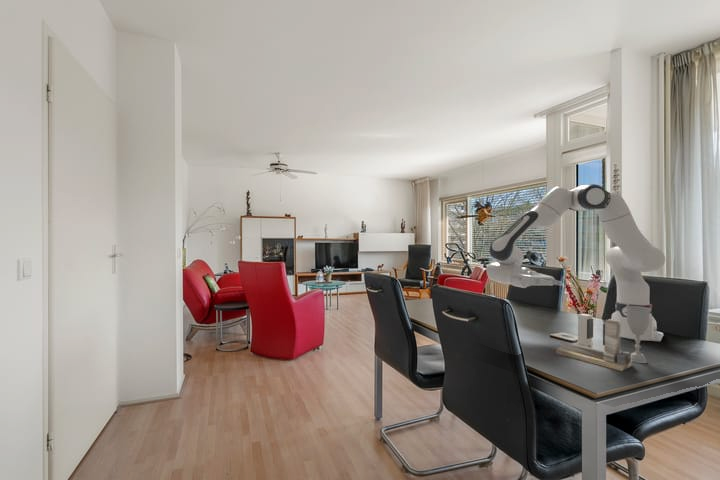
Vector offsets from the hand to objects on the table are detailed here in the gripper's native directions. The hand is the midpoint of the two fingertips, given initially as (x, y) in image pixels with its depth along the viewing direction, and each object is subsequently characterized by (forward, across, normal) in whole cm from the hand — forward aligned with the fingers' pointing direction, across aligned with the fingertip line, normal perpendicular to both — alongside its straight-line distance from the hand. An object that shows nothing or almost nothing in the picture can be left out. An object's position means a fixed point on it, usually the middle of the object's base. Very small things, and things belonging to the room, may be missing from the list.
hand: (556, 283), depth 140 cm
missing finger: (+12, +1, +22) cm, 26 cm away
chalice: (+28, +1, +21) cm, 35 cm away
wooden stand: (+19, -10, +23) cm, 31 cm away
